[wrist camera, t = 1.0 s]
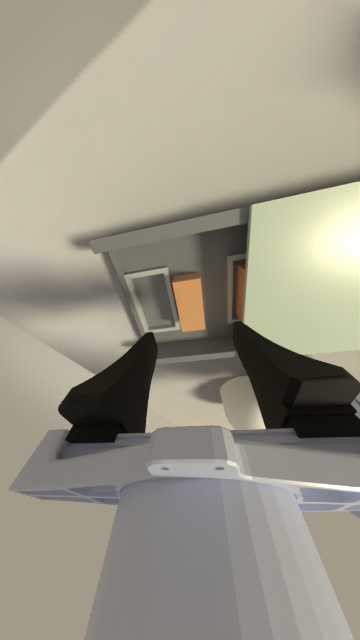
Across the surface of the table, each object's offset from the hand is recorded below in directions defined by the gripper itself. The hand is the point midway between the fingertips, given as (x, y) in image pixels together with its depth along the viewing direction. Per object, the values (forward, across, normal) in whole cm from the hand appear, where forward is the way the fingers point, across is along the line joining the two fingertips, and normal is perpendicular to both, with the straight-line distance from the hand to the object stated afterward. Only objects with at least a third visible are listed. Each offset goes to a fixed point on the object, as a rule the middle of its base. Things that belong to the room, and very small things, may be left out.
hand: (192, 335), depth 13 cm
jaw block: (+9, 0, 0) cm, 9 cm away
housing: (+10, -2, 0) cm, 10 cm away
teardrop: (+10, -9, +26) cm, 29 cm away
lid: (+5, -15, 0) cm, 16 cm away
